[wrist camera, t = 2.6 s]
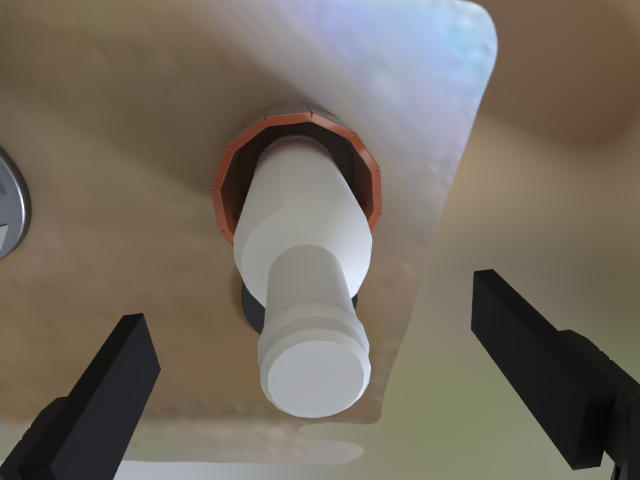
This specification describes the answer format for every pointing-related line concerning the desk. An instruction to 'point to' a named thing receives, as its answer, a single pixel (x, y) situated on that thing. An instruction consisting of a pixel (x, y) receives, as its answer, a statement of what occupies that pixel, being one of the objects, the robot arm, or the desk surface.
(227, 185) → the reddish brown pot
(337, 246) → the bottle
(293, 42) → the desk surface
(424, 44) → the desk surface
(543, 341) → the robot arm
